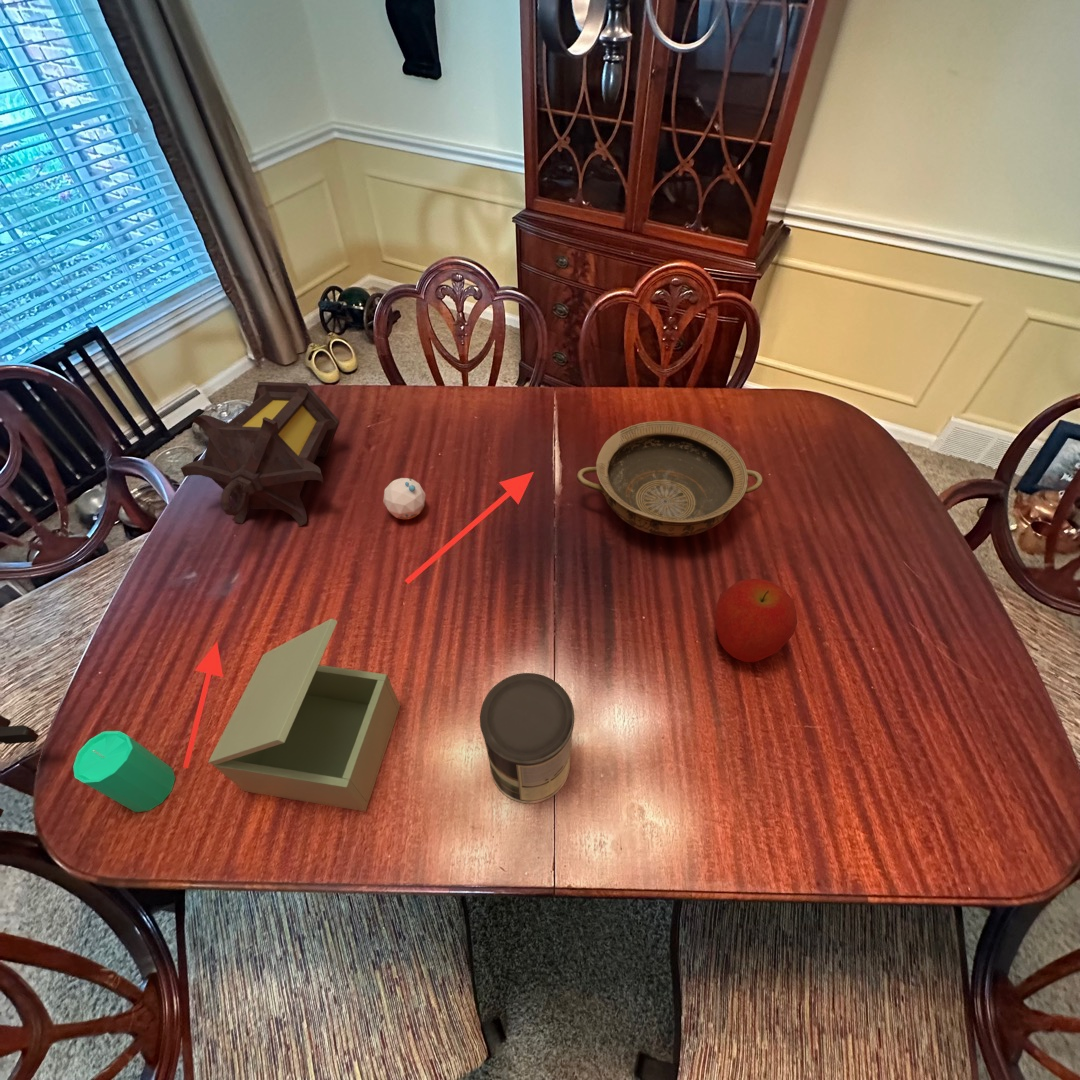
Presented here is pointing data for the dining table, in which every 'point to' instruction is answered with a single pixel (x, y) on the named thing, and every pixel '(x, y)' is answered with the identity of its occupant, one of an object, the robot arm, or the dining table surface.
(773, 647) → the apple
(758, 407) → the dining table surface
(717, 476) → the ceramic bowl
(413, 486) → the ornament
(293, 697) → the lid
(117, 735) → the candle
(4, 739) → the robot arm
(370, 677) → the chest
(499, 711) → the coffee can
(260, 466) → the lantern
